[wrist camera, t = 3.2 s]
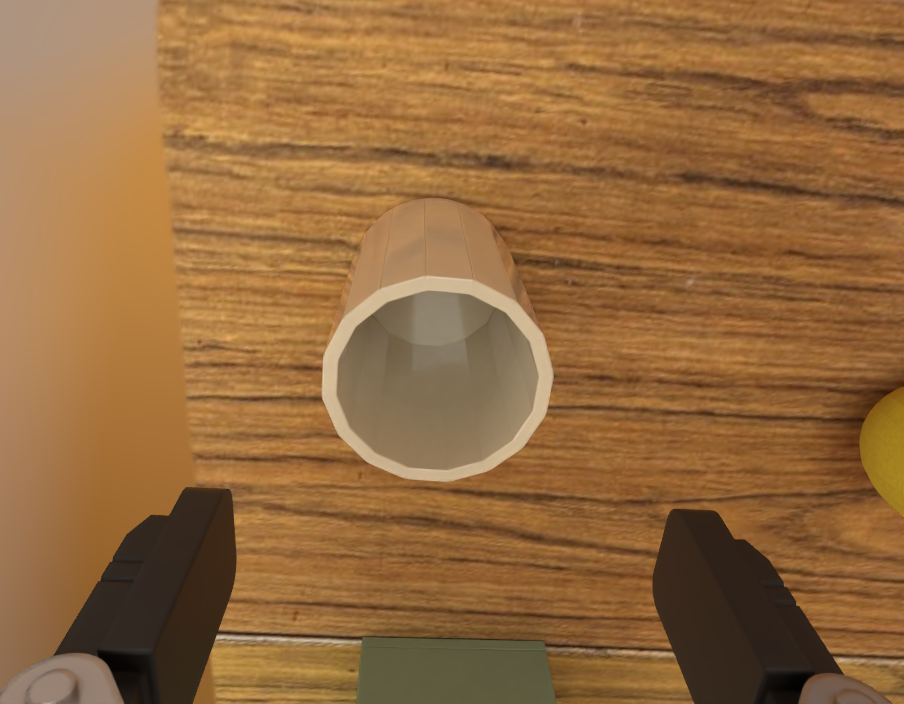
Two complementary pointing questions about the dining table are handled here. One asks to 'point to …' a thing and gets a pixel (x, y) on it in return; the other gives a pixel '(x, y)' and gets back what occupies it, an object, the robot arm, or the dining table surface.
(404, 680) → the holder
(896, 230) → the dining table surface
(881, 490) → the lemon
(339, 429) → the cup
